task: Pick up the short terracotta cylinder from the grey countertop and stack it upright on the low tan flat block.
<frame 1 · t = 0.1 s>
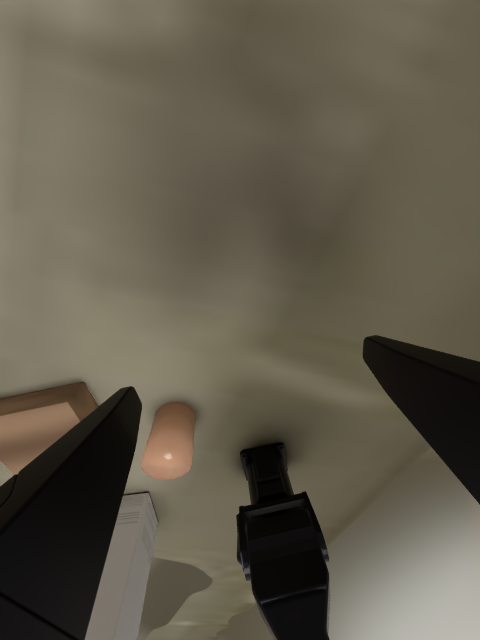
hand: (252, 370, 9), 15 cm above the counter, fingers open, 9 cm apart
supplement box: (125, 509, 35), on the counter
terracotta cylinder: (175, 417, 28), on the counter
tan flat block: (60, 423, 27), on the counter
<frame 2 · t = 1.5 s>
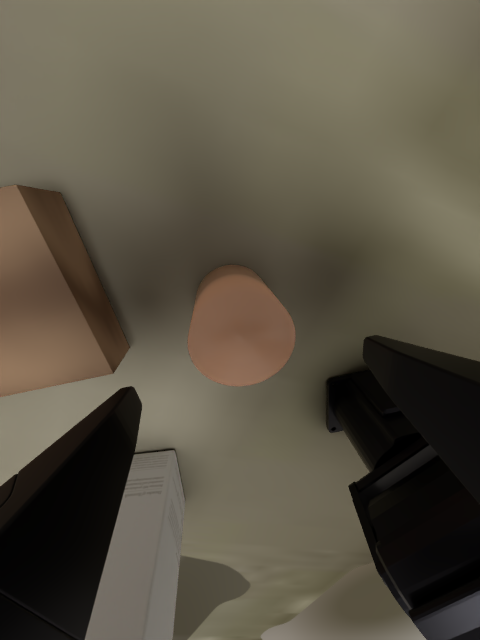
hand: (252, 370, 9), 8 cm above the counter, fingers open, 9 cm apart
supplement box: (137, 480, 23), on the counter
terracotta cylinder: (232, 300, 16), on the counter
tan flat block: (20, 297, 14), on the counter
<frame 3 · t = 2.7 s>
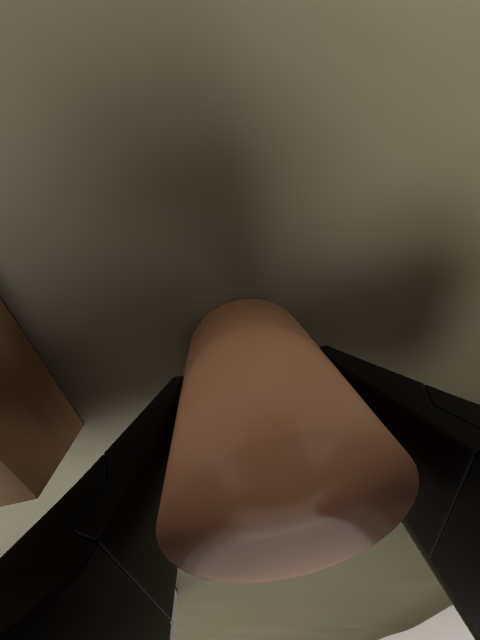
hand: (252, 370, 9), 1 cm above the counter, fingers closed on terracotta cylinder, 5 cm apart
terracotta cylinder: (247, 353, 10), on the counter, touching gripper
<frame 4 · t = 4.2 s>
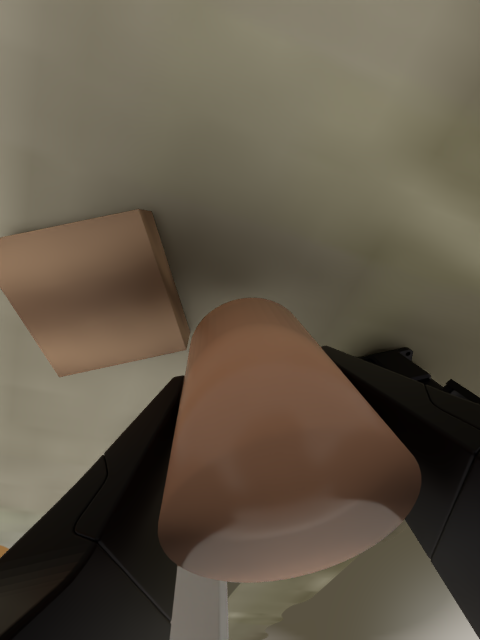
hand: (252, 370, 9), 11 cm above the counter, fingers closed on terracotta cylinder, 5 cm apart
supplement box: (184, 450, 26), on the counter
terracotta cylinder: (248, 352, 10), point 10 cm above the counter, touching gripper
tan flat block: (112, 291, 18), on the counter
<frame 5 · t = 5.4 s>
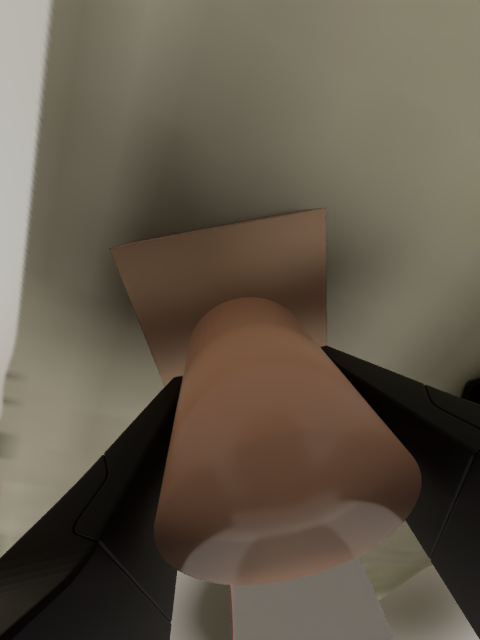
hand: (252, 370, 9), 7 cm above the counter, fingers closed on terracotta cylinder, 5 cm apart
supplement box: (267, 478, 24), on the counter
terracotta cylinder: (247, 352, 10), point 6 cm above the counter, touching gripper
tan flat block: (233, 305, 15), on the counter
when the fingers open (5 cm above the counter, at t = 6.1 s): terracotta cylinder stays where it is, resting on tan flat block.
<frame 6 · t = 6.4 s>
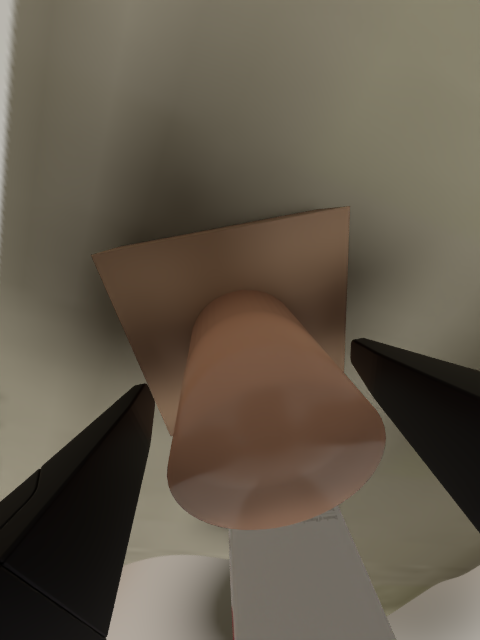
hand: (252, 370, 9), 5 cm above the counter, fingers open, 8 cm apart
supplement box: (272, 498, 22), on the counter
terracotta cylinder: (245, 341, 11), point 3 cm above the counter, touching tan flat block
tan flat block: (237, 317, 13), on the counter
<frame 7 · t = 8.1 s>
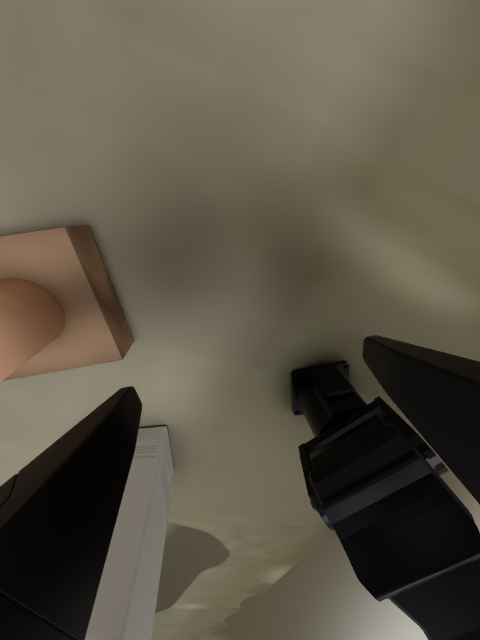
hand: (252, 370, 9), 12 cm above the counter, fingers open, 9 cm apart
supplement box: (134, 451, 27), on the counter
terracotta cylinder: (24, 313, 16), point 3 cm above the counter, touching tan flat block
tan flat block: (52, 299, 18), on the counter
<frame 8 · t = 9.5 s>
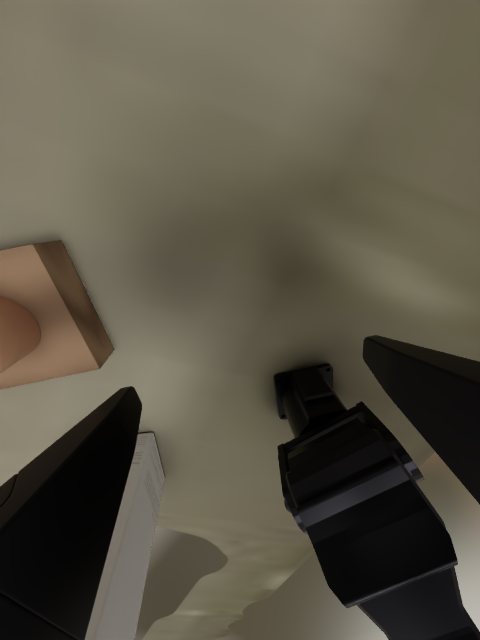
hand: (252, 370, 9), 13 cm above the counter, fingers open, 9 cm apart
supplement box: (123, 458, 28), on the counter
terracotta cylinder: (1, 327, 16), point 3 cm above the counter, touching tan flat block
tan flat block: (31, 312, 19), on the counter
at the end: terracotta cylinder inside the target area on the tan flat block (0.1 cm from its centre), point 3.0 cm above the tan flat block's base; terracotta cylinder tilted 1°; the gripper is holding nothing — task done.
